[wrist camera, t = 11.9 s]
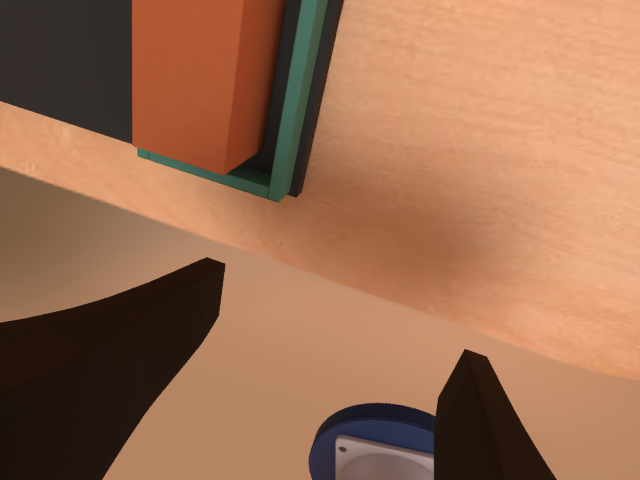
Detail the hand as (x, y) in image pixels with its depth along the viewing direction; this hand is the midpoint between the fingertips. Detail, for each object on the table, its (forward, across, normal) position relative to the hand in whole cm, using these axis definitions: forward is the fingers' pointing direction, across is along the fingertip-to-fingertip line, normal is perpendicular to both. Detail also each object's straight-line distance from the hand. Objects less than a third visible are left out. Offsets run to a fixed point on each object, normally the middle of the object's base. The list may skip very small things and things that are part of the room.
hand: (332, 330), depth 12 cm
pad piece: (+9, +8, -5) cm, 13 cm away
